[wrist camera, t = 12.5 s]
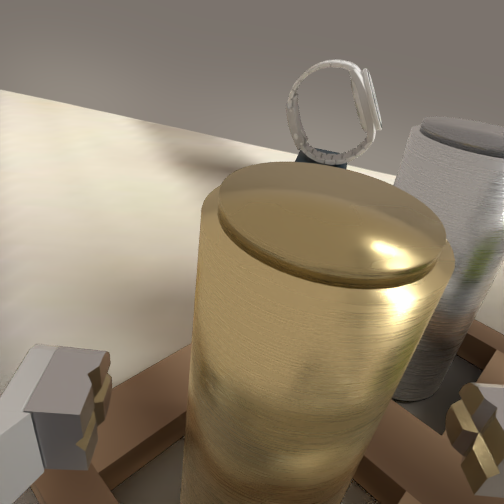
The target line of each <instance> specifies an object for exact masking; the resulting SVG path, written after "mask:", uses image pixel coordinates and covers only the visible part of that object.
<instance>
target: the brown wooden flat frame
mask: <svg viewBox="0 0 504 504" xmlns="http://www.w3.org/2000/svg"><path fill="white" fill-rule="evenodd" d="M191 346H192V343H191V344H189V345H187V346H186V347H184V348H182V349H180V350H179V351H177V352H175V353H173V354H172V355H170V356H168V357H167V358H165V359H163V360H161V361H160V362H158V363H156V364H154V365H153V366H151V367H149V368H147V369H146V370H144V371H142V372H140V373H139V374H137V375H135V376H133V377H132V378H130V379H128V380H127V381H125V382H123V383H121V384H120V385H118V386H116V387H114V388H113V389H112V392H111V399H110V404H109V408H108V412H107V415H106V418H105V421H104V422H102V423H101V424H100V425H99V426H98V427H97V432H98V442H97V445H96V448H95V451H94V454H93V457H92V460H91V463H90V466H89V469H88V470H62V469H44V473H43V474H42V475H41V476H40V477H39V478H38V479H37V480H36V481H35V482H34V483H33V484H32V485H31V486H30V487H31V489H32V491H33V493H34V494H35V496H36V498H37V500H38V502H39V504H119V503H118V501H117V500H116V498H115V497H114V495H113V494H112V492H111V490H112V489H114V488H115V487H116V486H118V485H119V484H120V483H122V482H123V481H124V480H126V479H127V478H128V477H130V476H131V475H132V474H134V473H135V472H136V471H138V470H139V469H140V468H142V467H143V466H144V465H146V464H147V463H148V462H150V461H151V460H152V459H154V458H155V457H156V456H158V455H159V454H160V453H162V452H163V451H164V450H166V449H167V448H168V447H170V446H171V445H172V444H174V443H175V442H176V441H178V440H179V439H180V438H182V437H183V436H184V435H185V427H186V413H187V400H188V386H189V373H190V359H191ZM456 354H457V355H459V356H460V357H462V358H464V359H465V360H467V361H469V362H470V363H472V364H474V365H475V366H477V367H479V368H480V369H482V370H484V371H483V372H482V374H481V375H480V377H479V378H478V380H477V381H476V383H484V384H497V385H504V335H503V334H501V333H499V332H497V331H495V330H493V329H492V328H490V327H488V326H486V325H484V324H482V323H481V322H479V321H477V320H475V319H474V320H473V322H472V324H471V326H470V328H469V330H468V332H467V334H466V336H465V338H464V340H463V342H462V343H461V345H460V347H459V349H458V351H457V353H456ZM461 460H462V455H461V454H460V453H459V452H458V451H457V450H455V449H454V448H453V447H452V445H451V443H450V441H449V438H448V436H447V432H446V430H445V431H444V433H443V434H442V436H441V435H440V434H438V433H437V432H436V431H434V430H433V429H432V428H430V427H429V426H427V425H426V424H425V423H423V422H422V421H420V420H419V419H418V418H416V417H415V416H414V415H412V414H411V413H409V412H408V411H407V410H405V409H404V408H403V407H401V406H400V405H398V404H397V403H396V402H394V401H393V400H392V399H391V401H390V403H389V405H388V407H387V409H386V411H385V413H384V415H383V417H382V419H381V421H380V423H379V425H378V427H377V429H376V431H375V433H374V435H373V437H372V439H371V441H370V443H369V445H368V447H367V449H366V451H365V454H364V456H363V458H362V460H361V462H360V464H359V466H358V468H357V470H356V472H355V474H354V476H353V479H354V480H355V481H356V482H357V483H358V484H360V485H361V486H362V487H363V488H364V489H365V490H366V491H367V492H368V493H370V494H371V495H372V496H373V497H374V498H375V499H376V500H377V501H379V502H380V503H381V504H504V498H500V497H489V496H479V495H474V494H473V492H472V489H471V487H470V485H469V483H468V481H467V478H466V476H465V474H464V472H463V470H462V468H461Z"/></svg>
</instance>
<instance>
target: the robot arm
mask: <svg viewBox="0 0 504 504" xmlns="http://www.w3.org/2000/svg"><path fill="white" fill-rule="evenodd" d="M109 366H110V354H109V352H107V351H99V350H90V349H81V348H72V347H63V346H51V345H42V344H35V345H34V346H33V347H32V348H31V349H30V350H29V351H28V353H27V354H26V356H25V357H24V359H23V361H22V362H21V364H20V366H19V367H18V369H17V370H16V372H15V374H14V375H13V377H12V379H11V380H10V382H9V383H8V385H7V387H6V388H5V390H4V392H3V393H2V395H1V396H0V504H13V503H14V502H15V501H16V500H17V499H18V498H19V497H20V496H21V495H22V494H23V493H24V492H25V491H26V490H27V489H28V488H29V487H30V486H31V485H32V484H33V483H34V482H35V481H36V480H37V479H38V478H39V477H40V476H41V475H42V474H43V473H44V469H62V470H88V469H89V466H90V463H91V460H92V457H93V454H94V451H95V448H96V445H97V442H98V432H97V427H98V426H99V425H100V424H101V423H102V422H104V421H105V418H106V415H107V412H108V408H109V404H110V399H111V392H112V377H111V376H110V375H109V374H108V373H107V372H108V369H109ZM459 395H460V397H461V400H459V401H457V402H455V403H454V404H452V405H451V406H450V408H449V410H448V412H447V413H446V422H445V427H446V432H447V436H448V438H449V441H450V443H451V445H452V447H453V448H454V449H455V450H457V451H458V452H459V453H460V454H461V455H462V460H461V468H462V470H463V472H464V474H465V476H466V478H467V481H468V483H469V485H470V487H471V489H472V492H473V494H474V495H479V496H489V497H500V498H504V385H497V384H484V383H471V382H469V383H467V384H465V385H464V386H463V387H462V389H461V390H460V392H459Z"/></svg>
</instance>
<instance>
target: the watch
mask: <svg viewBox="0 0 504 504" xmlns="http://www.w3.org/2000/svg"><path fill="white" fill-rule="evenodd" d="M328 67H338V68H341V67H342V68H344V69H347V70H349V75H350V77H351V88H352V93H353V98H354V102H355V106H356V110H357V114H358V117H359V121H360V124H361V126H362V129H363V130H364V131H365V132H366V133H367V137H366V138H365V141H363V142H362V143H361V144H359V145H358V146H357V148H354V149H352V150H350V151H348V152H347V153H346V152H345V153H336V152H332V151H327V150H322V149H317V148H313V147H312V146H309V143H307V139H308V138H307V136H306V133H305V131H304V129H303V126H302V123H301V119H300V114H299V106H298V94H296V92H297V90H298V86H299V85H300V83H301V82H302V80H303V79H304V78H305V77H307V76H308V75H309V74H311V73H313V72H315V71H317V70H319V69H323V68H328ZM286 113H287V120H288V125H289V129H290V132H291V135H292V138H293V140H294V143H295V145H296V147H297V149H298V150H300V149H301V150H300V152H299V154H298V156H297V158H296V160H295V162H304V163H314V164H321V165H327V166H333V167H338V168H342V169H346V167H347V162H350V161H352V160H354V159H356V158H357V157H359V156H360V155H362V154H363V153H364V152H365V151H366V150H367V149H368V148H369V147H370V146H371V144H372V143H373V141H374V138H375V132H376V130H381V129H382V125H381V117H380V113H379V108H378V104H377V100H376V96H375V91H374V88H373V84H372V80H371V77H370V74H369V71H368V69H367V68H365V69H363V71H361V70H360V69H359V68H358V66H357V65H355V64H354V63H352V62H348V61H343V60H327V61H323V62H321V63H318V64H316V65H314V66H312V67H311V68H309V69H308V70H307V71H305V73H303V74H302V75H301V76H300V77H299V79H298V80H297V81H296V82H295V84H294V85H293V87H292V90H291V91H290V94H289V99H288V102H287V104H286Z"/></svg>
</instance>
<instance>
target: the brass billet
mask: <svg viewBox="0 0 504 504" xmlns="http://www.w3.org/2000/svg"><path fill="white" fill-rule="evenodd" d="M454 268H455V257H454V252H453V250H452V248H451V245H450V243H449V242H448V240H447V239H446V231H445V228H444V226H443V224H442V222H441V221H440V219H439V218H438V216H437V215H436V214H435V213H434V212H433V211H432V210H431V209H430V208H429V207H427V206H426V205H425V204H424V203H422V202H421V201H419V200H418V199H417V198H415V197H414V196H412V195H410V194H408V193H407V192H405V191H403V190H401V189H399V188H397V187H395V186H393V185H391V184H388V183H386V182H384V181H381V180H379V179H376V178H373V177H370V176H367V175H364V174H361V173H358V172H354V171H350V170H346V169H342V168H338V167H333V166H327V165H321V164H314V163H304V162H269V163H261V164H256V165H251V166H248V167H244V168H242V169H239V170H237V171H235V172H233V173H232V174H230V175H229V176H228V177H227V178H225V179H224V181H223V182H222V184H221V185H220V186H219V187H217V188H215V189H214V190H213V191H212V192H211V193H210V194H209V195H208V196H207V197H206V199H205V200H204V203H203V206H202V210H201V224H200V237H199V251H198V264H197V278H196V291H195V305H194V319H193V332H192V346H191V359H190V373H189V386H188V400H187V413H186V427H185V441H184V454H183V468H182V481H181V495H180V504H340V502H341V500H342V498H343V496H344V494H345V492H346V490H347V488H348V486H349V484H350V482H351V480H352V478H353V476H354V474H355V472H356V470H357V468H358V466H359V464H360V462H361V460H362V458H363V456H364V454H365V451H366V449H367V447H368V445H369V443H370V441H371V439H372V437H373V435H374V433H375V431H376V429H377V427H378V425H379V423H380V421H381V419H382V417H383V415H384V413H385V411H386V409H387V407H388V405H389V403H390V401H391V398H392V396H393V394H394V392H395V390H396V388H397V386H398V384H399V382H400V380H401V378H402V376H403V374H404V372H405V370H406V368H407V366H408V364H409V362H410V360H411V358H412V356H413V354H414V352H415V350H416V347H417V345H418V343H419V341H420V339H421V337H422V335H423V333H424V331H425V329H426V327H427V325H428V323H429V321H430V319H431V317H432V315H433V313H434V311H435V309H436V307H437V305H438V303H439V301H440V299H441V296H442V294H443V292H444V290H445V288H446V286H447V284H448V282H449V280H450V278H451V276H452V274H453V271H454Z"/></svg>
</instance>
